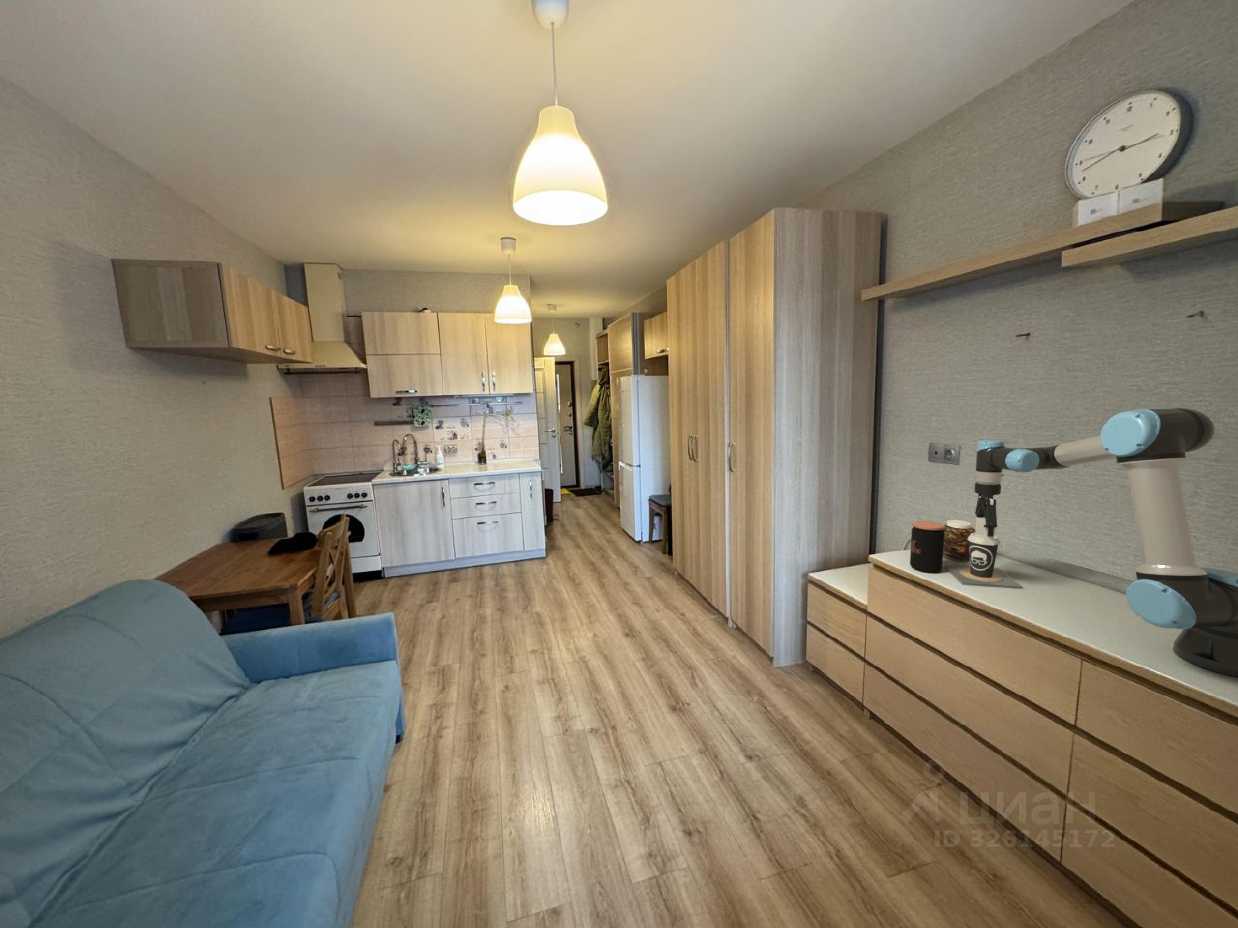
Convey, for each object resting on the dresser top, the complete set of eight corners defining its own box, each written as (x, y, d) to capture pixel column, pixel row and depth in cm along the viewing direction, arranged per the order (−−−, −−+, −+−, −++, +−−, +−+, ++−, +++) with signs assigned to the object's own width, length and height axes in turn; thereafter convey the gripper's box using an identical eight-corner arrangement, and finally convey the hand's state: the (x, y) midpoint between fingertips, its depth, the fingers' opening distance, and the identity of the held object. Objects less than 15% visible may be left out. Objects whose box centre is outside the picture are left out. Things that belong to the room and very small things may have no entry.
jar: (976, 556, 196) (978, 521, 194) (972, 564, 187) (974, 527, 185) (942, 550, 204) (944, 517, 202) (937, 558, 195) (939, 523, 193)
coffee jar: (908, 562, 191) (911, 519, 189) (940, 566, 186) (943, 522, 184) (910, 571, 182) (913, 526, 180) (943, 575, 177) (946, 529, 175)
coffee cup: (1003, 580, 169) (1006, 539, 166) (973, 578, 171) (976, 539, 168) (988, 570, 178) (991, 532, 176) (960, 569, 180) (962, 531, 178)
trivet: (1022, 588, 163) (1023, 586, 163) (962, 584, 168) (962, 582, 168) (998, 570, 180) (998, 567, 180) (943, 566, 185) (944, 564, 185)
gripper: (1011, 489, 157) (1006, 550, 159) (992, 477, 179) (988, 531, 181) (983, 488, 160) (979, 548, 163) (968, 476, 182) (964, 529, 185)
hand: (984, 539), depth 172 cm, fingers open, 13 cm apart
